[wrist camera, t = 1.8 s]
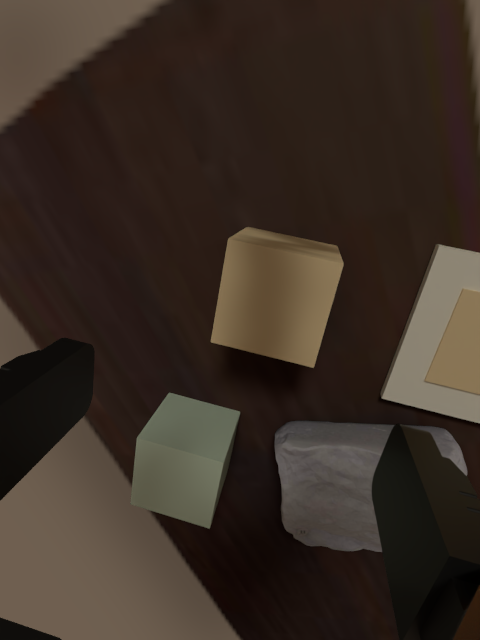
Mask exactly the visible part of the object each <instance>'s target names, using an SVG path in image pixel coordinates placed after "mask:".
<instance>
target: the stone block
mask: <svg viewBox="0 0 480 640" xmlns="http://www.w3.org/2000/svg"><path fill="white" fill-rule="evenodd" d="M394 426H395V425H385V424H361V423H330V422H318V421H293V422H288V423H286V424H285V425H284V426H282V427H281V428H279V429H278V430H277V431H276V433H275V443H274V445H275V455H276V461H277V463H278V467H279V475H280V480H281V488H282V503H281V515H282V522H283V525H284V527H285V529H286V531H288V532H290V533H292V534H293V536H294V538H295V539H297V540H299V541H301V542H302V543H304V544H305V545H308V546H325V547H329V548H331V549H334V550H342V551H357V550H361V549H363V548H364V549H367V550H373V551H376V552H382V547H381V542H380V537H379V532H378V527H377V521H376V516H375V511H374V506H373V501H372V481H373V476H374V472H375V470H376V467H377V465H378V462H379V460H380V457H381V455H382V452H383V450H384V447H385V445H386V442H387V440H388V437H389V435H390V432H391V430H392V428H393V427H394ZM405 426H409V425H405ZM409 427H413V428H417V429H420V430H424V431H428V432H430V433H431V435H432V436H433V438H434V440H435V443H436V445H437V447H438V449H439V451H440V453H441V455H442V457H446V458H450V459H451V460H452V461H453V463H454V464H455V465H456V466H457V467H458V468H459V469H460V470H461V471H462V472H463V473H464V474H465V475H466V476H467V468H466V465H465V462H464V459H463V455H462V451H461V449H460V447H459V445H458V444H457V442H456V441H455V440H454V438H453V437H452V435H451V434H450V433H449V432H448V431H447V430H445V429H443V428H438V427H431V426H409Z"/></svg>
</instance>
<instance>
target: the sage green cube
mask: <svg viewBox="0 0 480 640" xmlns="http://www.w3.org/2000/svg"><path fill="white" fill-rule="evenodd" d="M239 417H240V412H239V411H235V410H232V409H228V408H224V407H220V406H217V405H213V404H209V403H206V402H202V401H198V400H195V399H191V398H187V397H183V396H180V395H176V394H172V393H168V395H167V396H166V398H165V399H164V401H163V402H162V403H161V405H160V406H159V408H158V409H157V410H156V412H155V413H154V415H153V416H152V417H151V419H150V420H149V422H148V423H147V424H146V426H145V427H144V429H143V430H142V432H141V433H140V434H139V436H138V437H137V444H136V454H135V463H134V473H133V483H132V494H131V503H130V504H131V505H135V506H138V507H142V508H144V509H148V510H151V511H154V512H157V513H161V514H164V515H167V516H170V517H173V518H177V519H180V520H183V521H186V522H190V523H193V524H196V525H199V526H203V527H206V528H209V529H210V526H211V523H212V520H213V516H214V513H215V510H216V507H217V504H218V500H219V497H220V494H221V491H222V487H223V484H224V481H225V478H226V474H227V471H228V467H229V463H230V458H231V453H232V449H233V444H234V440H235V435H236V430H237V426H238V421H239Z"/></svg>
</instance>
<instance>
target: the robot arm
mask: <svg viewBox="0 0 480 640" xmlns="http://www.w3.org/2000/svg"><path fill="white" fill-rule="evenodd" d="M93 375H94V348H93V346H92V345H91V344H88V343H84V342H80V341H76V340H72V339H68V338H61V339H59V340H57V341H56V342H54V343H53V344H51V345H49V346H48V347H46V348H44V349H43V350H38V351H34V352H31V353H28V354H25V355H21V356H18V357H16V358H14V359H13V360H11V361H9V362H7V363H6V364H4V365H2V366H1V368H0V500H1V499H2V498H3V497H4V496H5V495H6V494H7V493H8V492H9V491H10V490H11V489H12V488H13V487H14V486H15V485H16V484H17V483H18V482H19V481H20V480H21V479H22V478H23V477H24V476H25V475H26V474H27V473H28V472H29V471H30V470H31V469H32V468H33V467H34V466H35V465H36V464H37V463H38V462H39V461H40V460H41V459H42V458H43V457H44V456H45V455H46V454H47V453H48V452H49V451H50V450H51V449H52V448H53V447H54V446H55V444H57V443H58V442H59V441H60V440H61V439H62V438H63V437H64V436H65V434H66V433H67V432H68V431H69V430H70V429H71V428H72V427H73V426H74V425H75V424H76V423H77V422H78V421H79V420H80V419H81V418H82V417H83V416H84V415H85V413H86V412H87V410H88V408H89V406H90V403H91V400H92V395H93ZM372 501H373V506H374V511H375V516H376V521H377V527H378V532H379V537H380V542H381V547H382V552H383V558H384V563H385V568H386V573H387V578H388V583H389V589H390V594H391V599H392V604H393V609H394V614H395V620H396V625H397V630H398V635H399V640H480V500H479V499H477V494H476V492H475V491H474V489H473V487H472V485H471V483H470V481H469V479H468V477H467V476H466V475H465V474H464V473H463V472H462V471H461V470H460V469H459V468H458V467H457V466H456V465H455V464H454V463H453V461H452V460H451V459H450V458H446V457H442V455H441V453H440V451H439V449H438V447H437V445H436V443H435V440H434V438H433V436H432V435H431V433H430V432H428V431H424V430H420V429H417V428H413V427H409V426H405V425H401V424H396V425H395V426H394V427H393V428H392V430H391V432H390V435H389V437H388V440H387V442H386V445H385V447H384V450H383V452H382V455H381V457H380V460H379V462H378V465H377V467H376V470H375V472H374V476H373V481H372ZM0 640H61V639H60V638H58V637H55V636H52V635H49V634H46V633H43V632H41V631H38V630H35V629H32V628H29V627H26V626H23V625H20V624H17V623H15V622H12V621H8V620H6V619H3V618H0Z"/></svg>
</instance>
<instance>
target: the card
mask: <svg viewBox="0 0 480 640" xmlns="http://www.w3.org/2000/svg"><path fill="white" fill-rule="evenodd" d="M380 395H381V398H382V399H386V400H390V401H394V402H397V403H401V404H405V405H409V406H413V407H417V408H421V409H425V410H429V411H433V412H437V413H441V414H445V415H449V416H452V417H456V418H460V419H464V420H468V421H472V422H476V423H480V253H477V252H473V251H468V250H463V249H458V248H453V247H448V246H443V245H439V244H436V246H435V248H434V251H433V254H432V256H431V259H430V262H429V264H428V267H427V270H426V272H425V275H424V278H423V281H422V283H421V286H420V289H419V291H418V294H417V297H416V299H415V302H414V305H413V307H412V310H411V313H410V315H409V318H408V321H407V323H406V326H405V329H404V331H403V334H402V337H401V339H400V342H399V345H398V347H397V350H396V353H395V355H394V358H393V361H392V363H391V366H390V369H389V371H388V374H387V377H386V380H385V382H384V385H383V388H382V390H381V393H380Z"/></svg>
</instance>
